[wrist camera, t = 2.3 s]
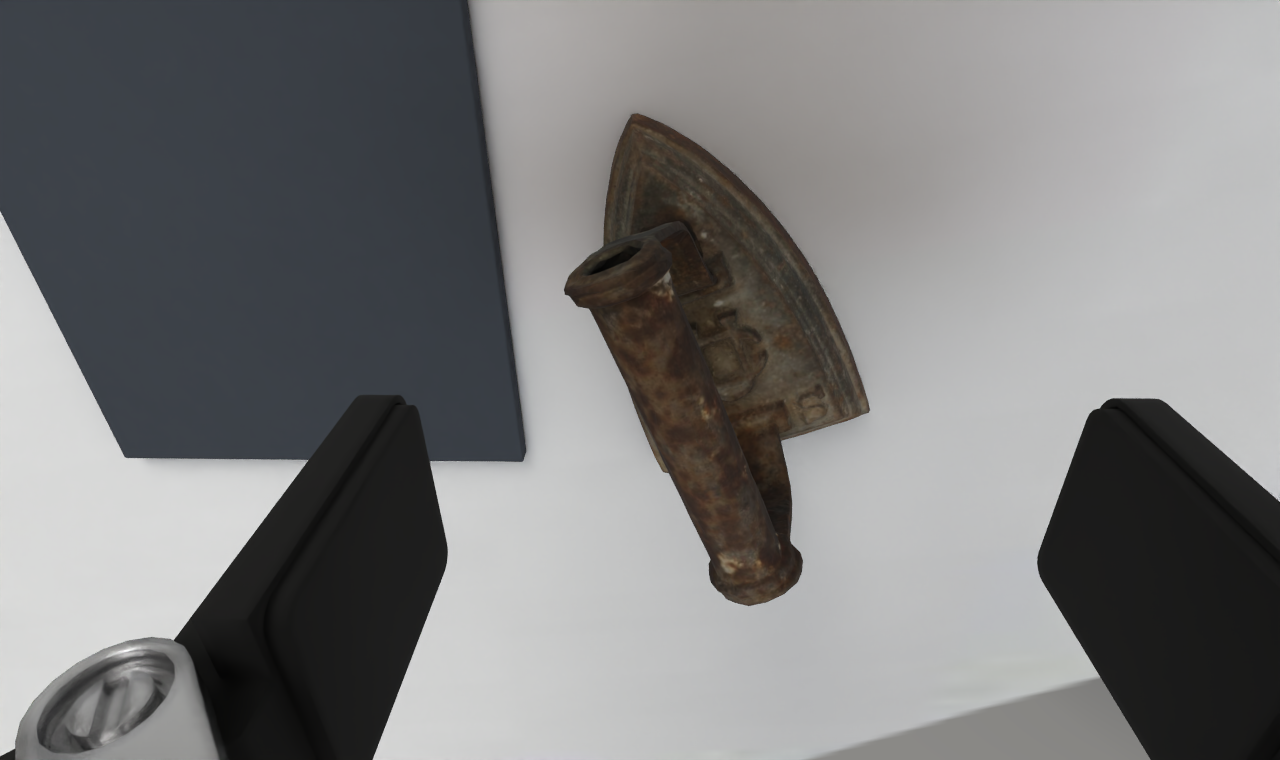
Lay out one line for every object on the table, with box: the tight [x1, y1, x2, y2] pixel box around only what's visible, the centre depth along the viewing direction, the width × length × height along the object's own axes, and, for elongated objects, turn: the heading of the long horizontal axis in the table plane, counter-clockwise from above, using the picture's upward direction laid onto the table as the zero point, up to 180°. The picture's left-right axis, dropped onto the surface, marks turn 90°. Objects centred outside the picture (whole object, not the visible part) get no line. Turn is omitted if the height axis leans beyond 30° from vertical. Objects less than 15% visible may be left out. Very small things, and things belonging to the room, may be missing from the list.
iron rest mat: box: [0, 0, 526, 462], centre depth 19 cm, size 20×14×1 cm
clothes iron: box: [564, 114, 870, 606], centre depth 18 cm, size 7×11×10 cm, turn 24°
